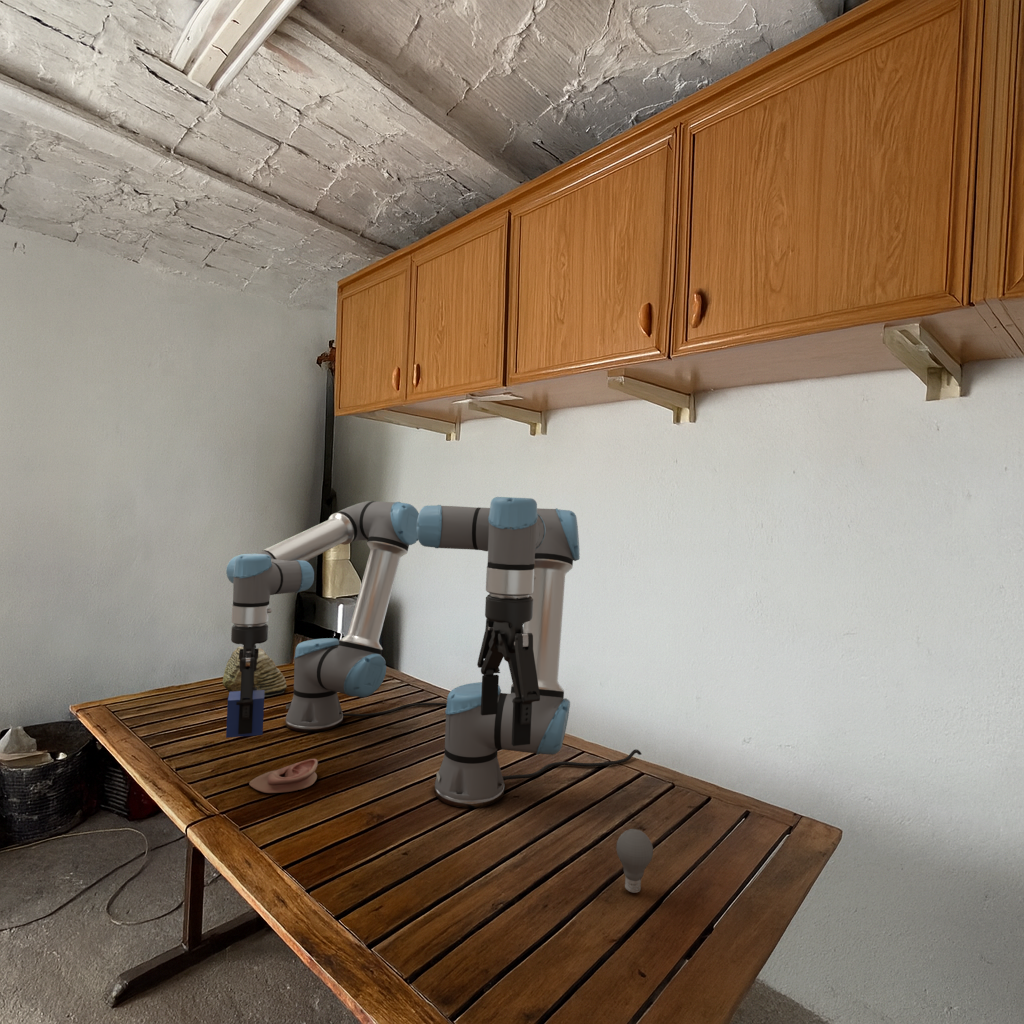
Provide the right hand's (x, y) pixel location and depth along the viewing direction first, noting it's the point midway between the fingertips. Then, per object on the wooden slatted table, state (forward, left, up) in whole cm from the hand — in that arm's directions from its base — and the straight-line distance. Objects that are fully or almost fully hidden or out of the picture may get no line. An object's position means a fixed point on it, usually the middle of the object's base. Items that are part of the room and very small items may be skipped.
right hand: (503, 728), depth 100 cm
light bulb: (-22, +7, -28) cm, 37 cm away
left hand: (+30, -63, -17) cm, 72 cm away
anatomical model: (+22, -57, -28) cm, 68 cm away
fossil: (+20, -123, -28) cm, 128 cm away
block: (+30, -63, -18) cm, 72 cm away
